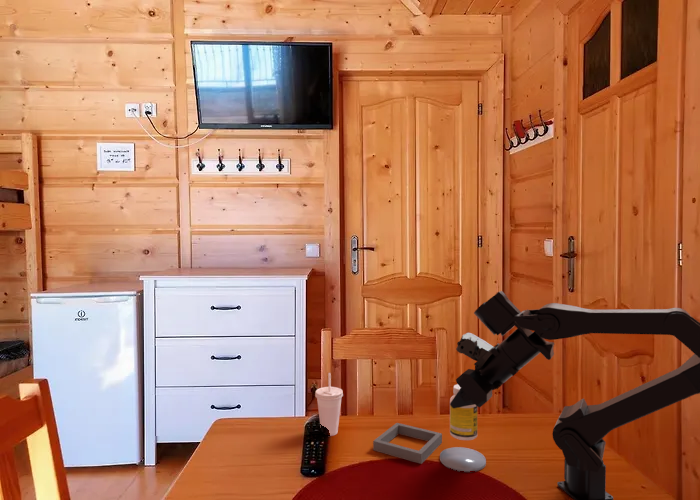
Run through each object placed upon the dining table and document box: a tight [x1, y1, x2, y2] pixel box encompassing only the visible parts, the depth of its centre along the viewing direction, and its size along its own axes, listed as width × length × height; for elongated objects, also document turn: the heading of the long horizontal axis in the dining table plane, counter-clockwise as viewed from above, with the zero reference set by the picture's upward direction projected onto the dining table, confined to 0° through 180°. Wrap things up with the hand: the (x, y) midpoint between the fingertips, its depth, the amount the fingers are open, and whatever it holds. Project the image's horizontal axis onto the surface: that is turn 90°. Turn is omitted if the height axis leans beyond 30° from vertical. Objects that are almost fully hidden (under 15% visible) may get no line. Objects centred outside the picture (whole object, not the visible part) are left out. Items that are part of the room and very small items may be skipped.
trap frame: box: [372, 422, 443, 465], centre depth 99 cm, size 11×11×2 cm
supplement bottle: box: [449, 383, 478, 441], centre depth 92 cm, size 5×5×10 cm
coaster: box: [439, 446, 487, 473], centre depth 93 cm, size 9×9×1 cm
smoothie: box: [314, 372, 344, 437], centre depth 106 cm, size 6×6×14 cm
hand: (456, 401), depth 93 cm, fingers closed on supplement bottle, 5 cm apart
